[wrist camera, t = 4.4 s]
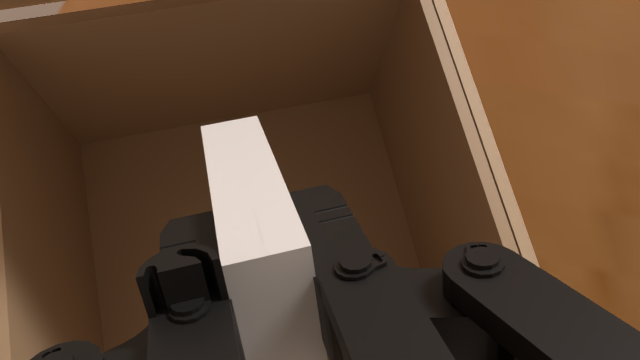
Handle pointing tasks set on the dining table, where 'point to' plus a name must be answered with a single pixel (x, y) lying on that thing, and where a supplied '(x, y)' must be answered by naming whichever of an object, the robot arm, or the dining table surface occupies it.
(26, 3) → the carton flap
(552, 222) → the dining table surface
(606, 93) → the dining table surface
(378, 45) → the carton
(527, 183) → the dining table surface
